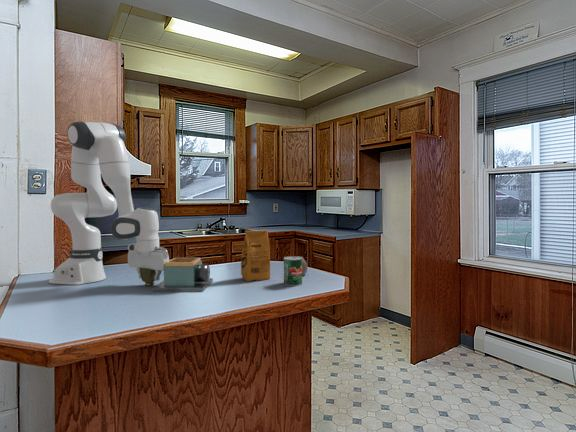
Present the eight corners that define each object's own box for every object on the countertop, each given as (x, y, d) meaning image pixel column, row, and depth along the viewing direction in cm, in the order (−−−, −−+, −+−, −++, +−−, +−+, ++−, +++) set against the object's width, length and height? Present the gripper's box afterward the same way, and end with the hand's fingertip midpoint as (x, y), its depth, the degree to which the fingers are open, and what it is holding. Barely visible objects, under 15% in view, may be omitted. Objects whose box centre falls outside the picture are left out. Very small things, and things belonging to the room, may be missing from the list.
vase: (309, 274, 169) (309, 255, 169) (305, 277, 163) (305, 258, 162) (295, 273, 172) (295, 255, 171) (290, 276, 165) (290, 257, 165)
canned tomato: (296, 286, 146) (296, 260, 145) (280, 284, 150) (279, 258, 150) (305, 282, 153) (305, 257, 152) (290, 280, 157) (289, 255, 156)
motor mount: (152, 291, 140) (151, 263, 140) (167, 281, 156) (166, 256, 156) (202, 291, 140) (202, 263, 139) (212, 281, 156) (212, 256, 155)
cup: (161, 283, 153) (161, 265, 153) (155, 287, 146) (154, 268, 145) (144, 283, 153) (143, 265, 153) (136, 287, 146) (136, 268, 145)
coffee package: (239, 277, 163) (238, 229, 162) (265, 275, 168) (264, 228, 167) (245, 282, 154) (244, 231, 153) (272, 279, 159) (271, 230, 157)
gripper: (172, 246, 147) (173, 280, 148) (136, 244, 156) (137, 275, 156) (161, 248, 141) (162, 283, 142) (124, 246, 150) (125, 278, 151)
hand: (149, 279), depth 149 cm, fingers closed on cup, 7 cm apart
